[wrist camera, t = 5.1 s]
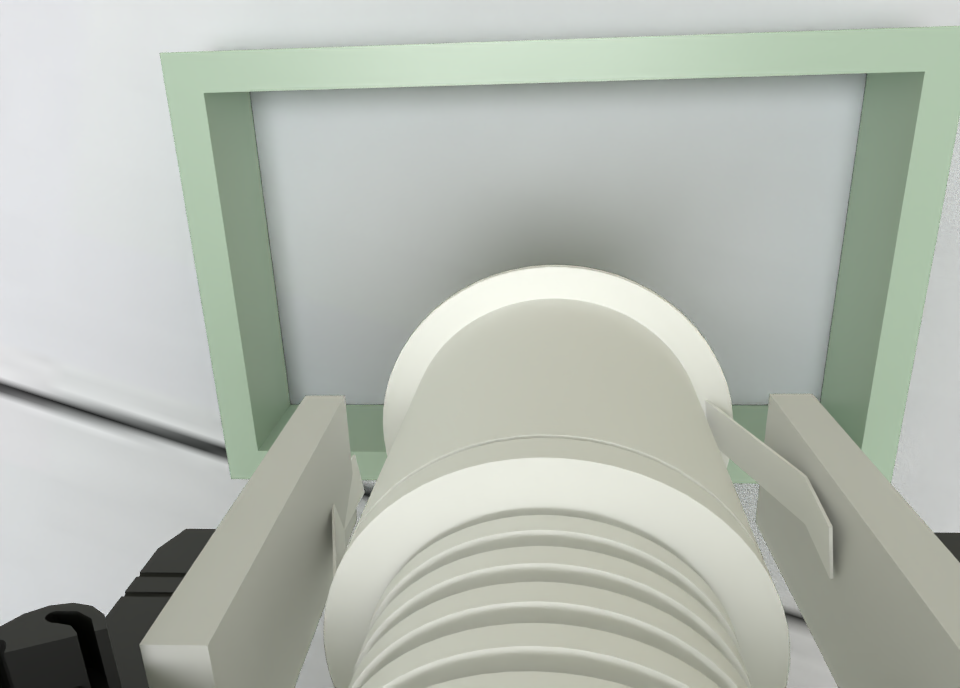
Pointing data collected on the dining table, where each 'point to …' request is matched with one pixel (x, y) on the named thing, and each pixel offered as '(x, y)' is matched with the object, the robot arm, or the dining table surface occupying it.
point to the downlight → (561, 504)
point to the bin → (878, 52)
